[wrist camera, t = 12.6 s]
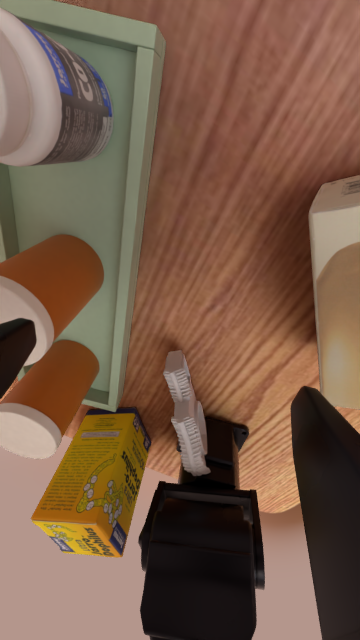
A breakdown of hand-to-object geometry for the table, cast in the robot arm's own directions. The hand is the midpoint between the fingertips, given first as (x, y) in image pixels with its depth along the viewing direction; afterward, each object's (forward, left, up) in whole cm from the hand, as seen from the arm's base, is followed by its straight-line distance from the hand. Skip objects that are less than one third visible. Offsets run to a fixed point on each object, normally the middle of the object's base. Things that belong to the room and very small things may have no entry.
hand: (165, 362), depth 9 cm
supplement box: (-22, +4, -12) cm, 25 cm away
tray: (-3, +9, -12) cm, 15 cm away
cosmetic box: (+6, -7, -8) cm, 12 cm away
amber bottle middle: (-3, +9, -11) cm, 15 cm away
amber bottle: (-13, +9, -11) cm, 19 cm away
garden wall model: (-14, -3, -11) cm, 18 cm away
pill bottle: (+6, +8, -11) cm, 15 cm away
